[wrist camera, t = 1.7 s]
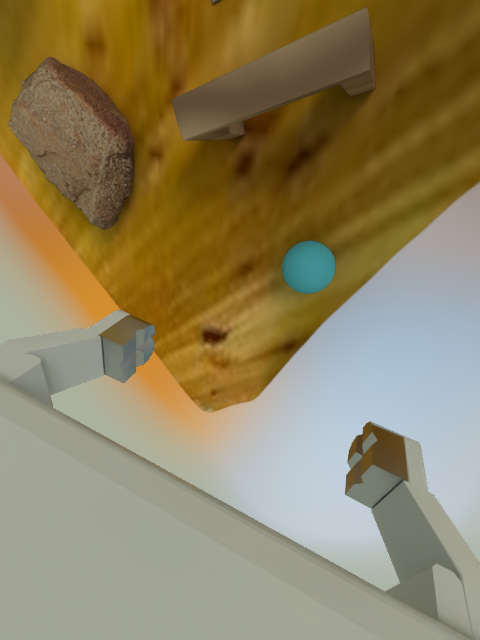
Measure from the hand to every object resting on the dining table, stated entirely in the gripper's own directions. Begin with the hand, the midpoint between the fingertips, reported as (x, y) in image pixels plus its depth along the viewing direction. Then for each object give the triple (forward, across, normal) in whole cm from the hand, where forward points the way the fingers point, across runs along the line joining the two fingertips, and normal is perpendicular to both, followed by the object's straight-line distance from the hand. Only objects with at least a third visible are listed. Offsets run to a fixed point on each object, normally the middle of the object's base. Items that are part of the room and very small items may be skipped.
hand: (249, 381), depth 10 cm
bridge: (+28, +8, -10) cm, 31 cm away
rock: (+30, +35, 0) cm, 46 cm away
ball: (+25, +1, +5) cm, 26 cm away
